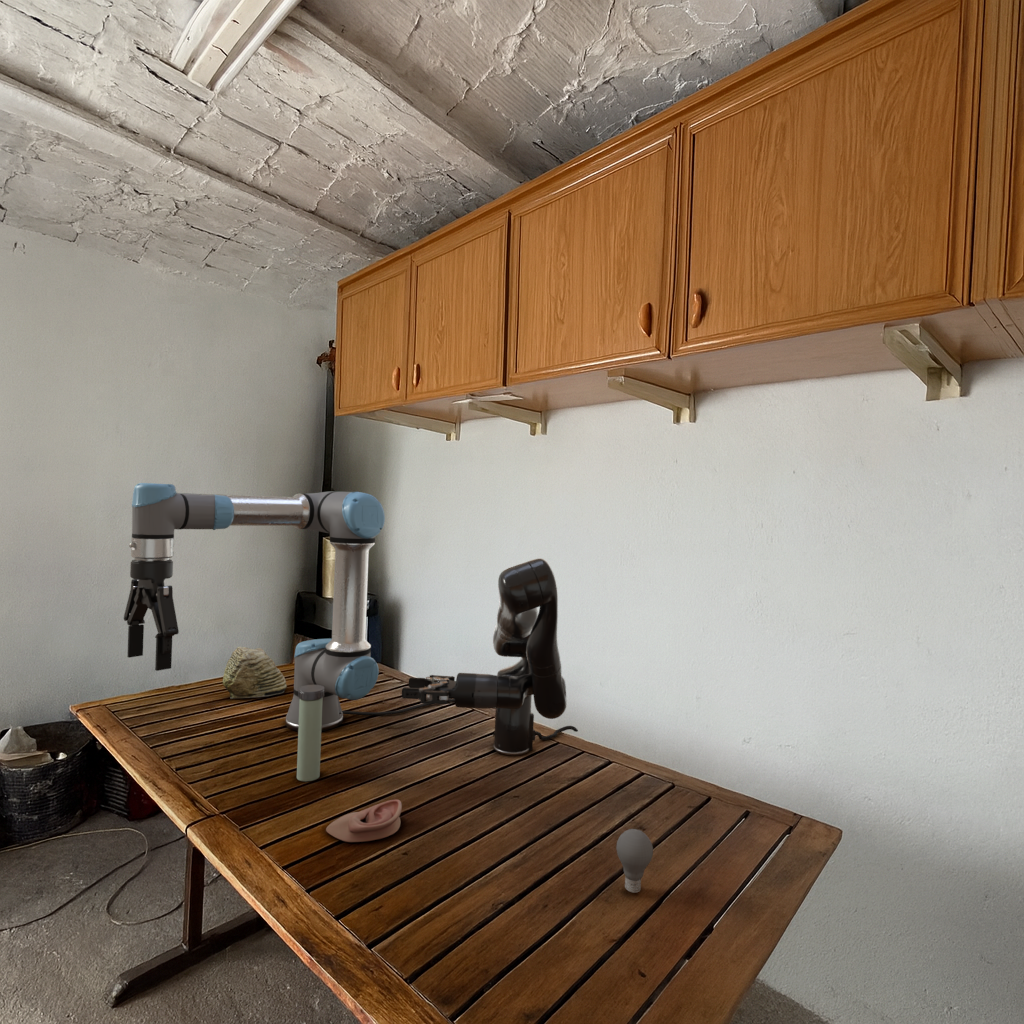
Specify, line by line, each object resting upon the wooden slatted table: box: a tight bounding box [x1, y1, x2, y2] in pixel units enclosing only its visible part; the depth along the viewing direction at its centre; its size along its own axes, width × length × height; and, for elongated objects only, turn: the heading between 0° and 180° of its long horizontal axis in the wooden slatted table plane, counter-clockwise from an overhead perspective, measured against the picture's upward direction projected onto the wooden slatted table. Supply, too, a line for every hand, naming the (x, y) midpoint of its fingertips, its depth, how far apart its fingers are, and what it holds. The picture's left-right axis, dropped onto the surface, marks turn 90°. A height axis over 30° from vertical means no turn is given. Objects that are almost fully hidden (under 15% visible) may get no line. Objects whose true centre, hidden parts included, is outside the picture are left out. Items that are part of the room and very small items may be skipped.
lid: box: [298, 685, 325, 700], centre depth 143 cm, size 6×6×2 cm
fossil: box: [222, 646, 288, 699], centre depth 198 cm, size 9×18×15 cm, turn 132°
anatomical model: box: [325, 799, 403, 843], centre depth 122 cm, size 13×4×12 cm
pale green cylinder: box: [296, 698, 323, 782], centre depth 143 cm, size 5×5×20 cm
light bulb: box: [615, 828, 654, 894], centre depth 106 cm, size 6×6×10 cm
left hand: (148, 662), depth 129 cm, fingers open, 13 cm apart
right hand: (405, 687), depth 142 cm, fingers open, 8 cm apart
